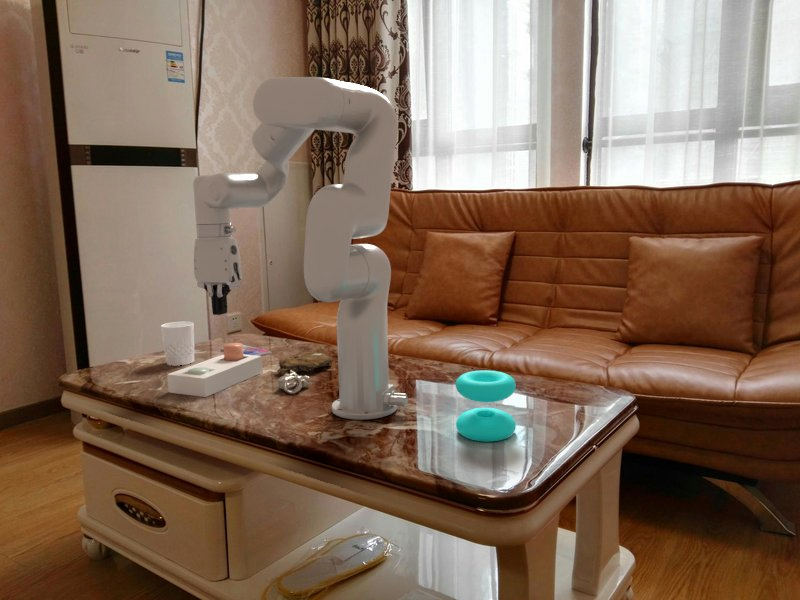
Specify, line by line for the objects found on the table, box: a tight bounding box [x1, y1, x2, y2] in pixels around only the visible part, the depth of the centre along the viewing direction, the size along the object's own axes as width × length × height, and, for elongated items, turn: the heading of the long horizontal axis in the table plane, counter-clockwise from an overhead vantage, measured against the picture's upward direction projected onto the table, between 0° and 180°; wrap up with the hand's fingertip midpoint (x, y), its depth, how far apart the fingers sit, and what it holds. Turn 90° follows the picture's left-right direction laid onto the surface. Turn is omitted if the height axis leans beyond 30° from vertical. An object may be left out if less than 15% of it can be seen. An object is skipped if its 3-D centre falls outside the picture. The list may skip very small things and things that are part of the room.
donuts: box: [455, 369, 517, 443], centre depth 106 cm, size 10×10×10 cm
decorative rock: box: [277, 351, 334, 376], centre depth 150 cm, size 11×4×15 cm
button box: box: [166, 353, 264, 398], centre depth 141 cm, size 10×20×4 cm, turn 157°
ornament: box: [277, 370, 311, 395], centre depth 134 cm, size 8×7×4 cm
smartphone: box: [220, 344, 272, 357], centre depth 169 cm, size 7×1×15 cm
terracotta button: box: [222, 342, 244, 362], centre depth 146 cm, size 4×4×4 cm
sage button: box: [188, 367, 209, 376], centre depth 135 cm, size 4×4×4 cm
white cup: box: [160, 320, 195, 367], centre depth 159 cm, size 8×8×10 cm
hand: (220, 313), depth 141 cm, fingers closed
